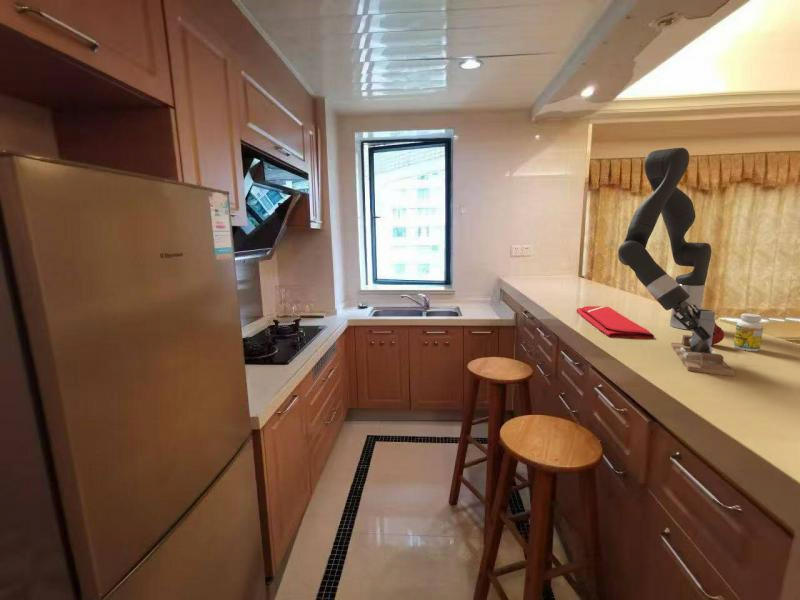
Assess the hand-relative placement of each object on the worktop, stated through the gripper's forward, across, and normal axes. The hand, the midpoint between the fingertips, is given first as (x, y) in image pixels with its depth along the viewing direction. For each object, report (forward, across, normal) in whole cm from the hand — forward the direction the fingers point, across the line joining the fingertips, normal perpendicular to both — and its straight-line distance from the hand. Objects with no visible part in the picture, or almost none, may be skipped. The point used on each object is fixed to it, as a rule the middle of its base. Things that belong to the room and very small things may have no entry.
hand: (710, 337), depth 109 cm
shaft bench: (+4, 0, +6) cm, 8 cm away
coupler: (+2, 0, +5) cm, 5 cm away
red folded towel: (-20, +24, +32) cm, 45 cm away
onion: (+3, +19, +8) cm, 21 cm away
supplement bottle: (+9, +23, +2) cm, 25 cm away
